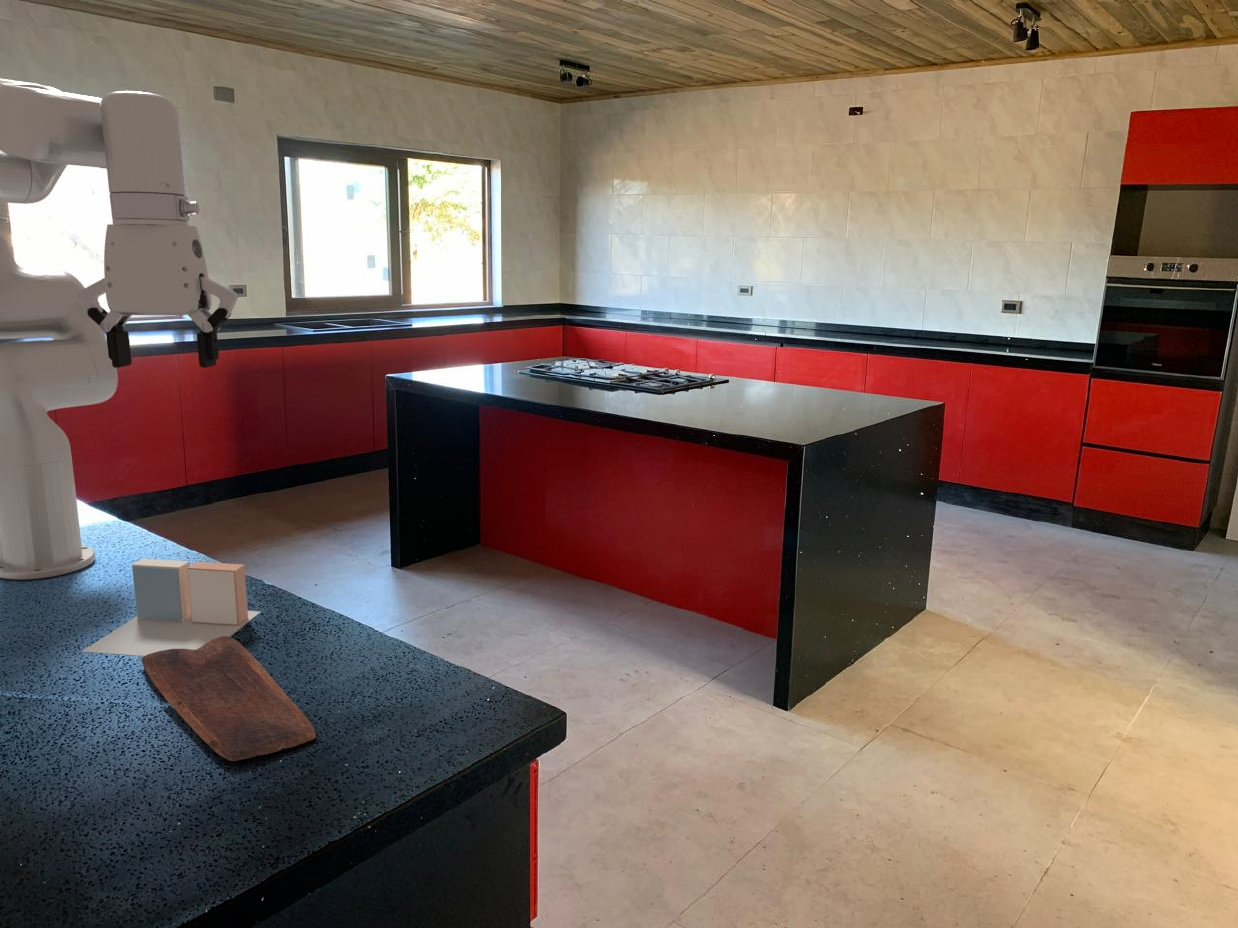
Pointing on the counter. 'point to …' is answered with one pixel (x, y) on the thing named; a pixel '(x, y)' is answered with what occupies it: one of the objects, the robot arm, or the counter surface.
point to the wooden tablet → (228, 699)
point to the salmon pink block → (217, 593)
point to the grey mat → (161, 636)
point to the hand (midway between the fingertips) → (165, 366)
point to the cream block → (162, 590)
